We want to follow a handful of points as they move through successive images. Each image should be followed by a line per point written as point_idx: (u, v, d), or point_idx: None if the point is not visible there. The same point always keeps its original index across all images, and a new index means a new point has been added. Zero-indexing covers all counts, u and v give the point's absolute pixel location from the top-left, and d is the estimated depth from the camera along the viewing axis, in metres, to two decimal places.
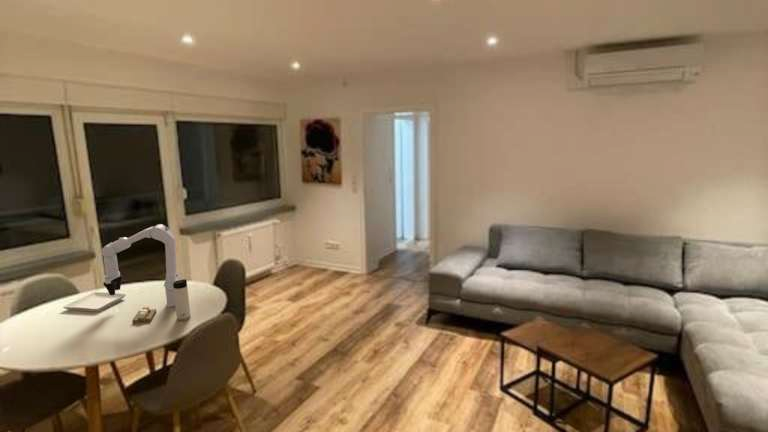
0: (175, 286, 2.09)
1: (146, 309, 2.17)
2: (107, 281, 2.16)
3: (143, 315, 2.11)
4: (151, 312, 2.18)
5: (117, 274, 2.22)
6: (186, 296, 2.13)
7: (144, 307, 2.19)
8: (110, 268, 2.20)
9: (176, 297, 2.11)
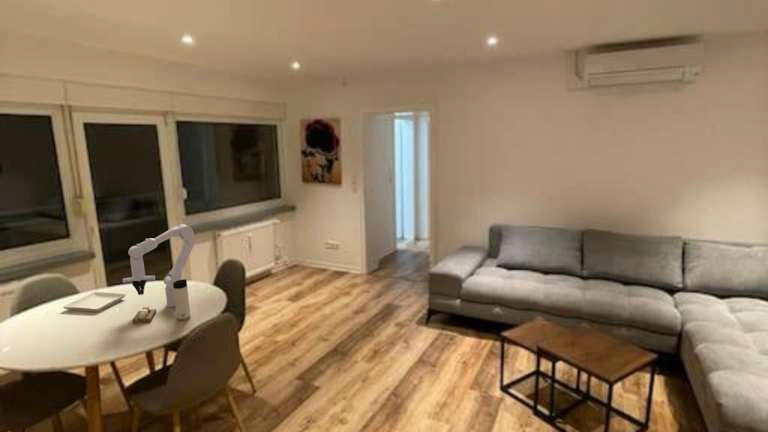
0: (175, 286, 2.09)
1: (146, 309, 2.17)
2: None
3: (143, 315, 2.11)
4: (151, 312, 2.18)
5: (135, 278, 2.18)
6: (186, 296, 2.13)
7: (144, 307, 2.19)
8: (139, 269, 2.18)
9: (176, 297, 2.11)
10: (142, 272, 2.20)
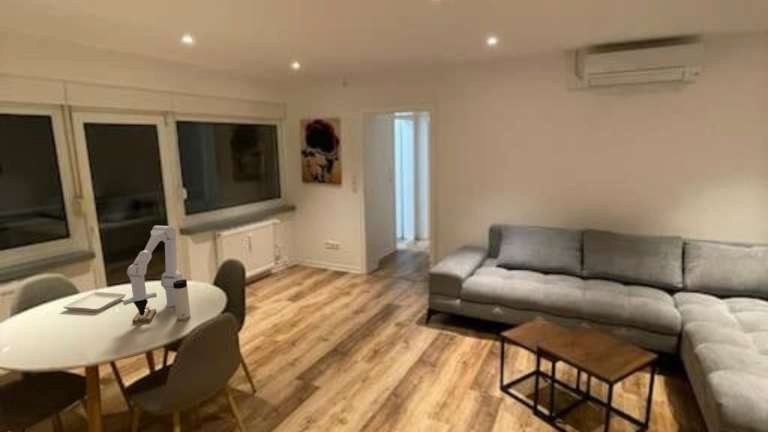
0: (175, 286, 2.09)
1: (146, 309, 2.17)
2: (123, 302, 2.05)
3: (143, 316, 2.11)
4: (151, 312, 2.18)
5: (139, 297, 2.08)
6: (186, 296, 2.13)
7: None
8: (144, 288, 2.09)
9: (176, 297, 2.11)
10: (145, 290, 2.10)
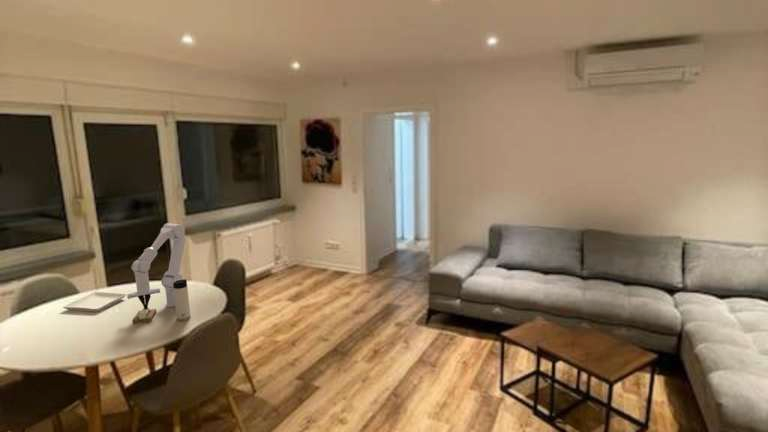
0: (175, 286, 2.09)
1: (146, 309, 2.17)
2: (127, 296, 2.13)
3: (143, 317, 2.11)
4: (151, 312, 2.18)
5: (141, 292, 2.15)
6: (186, 296, 2.13)
7: None
8: (146, 283, 2.15)
9: (176, 297, 2.11)
10: (148, 286, 2.17)
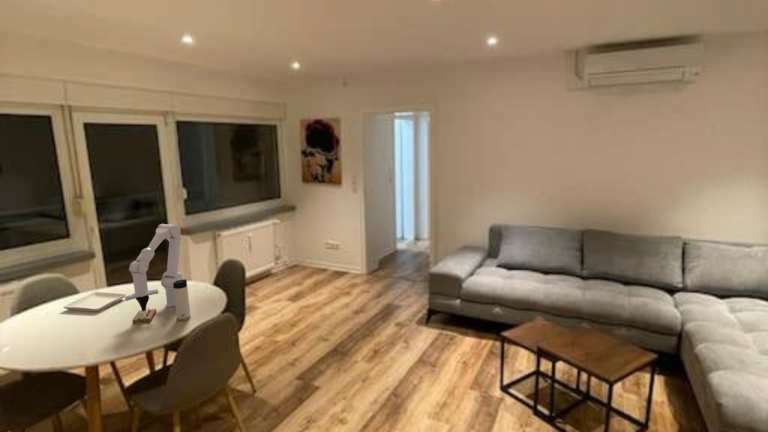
0: (175, 286, 2.09)
1: (146, 309, 2.17)
2: (125, 298, 2.09)
3: (143, 317, 2.11)
4: (151, 312, 2.18)
5: (140, 293, 2.11)
6: (186, 296, 2.13)
7: None
8: (145, 284, 2.12)
9: (176, 297, 2.11)
10: (146, 287, 2.13)
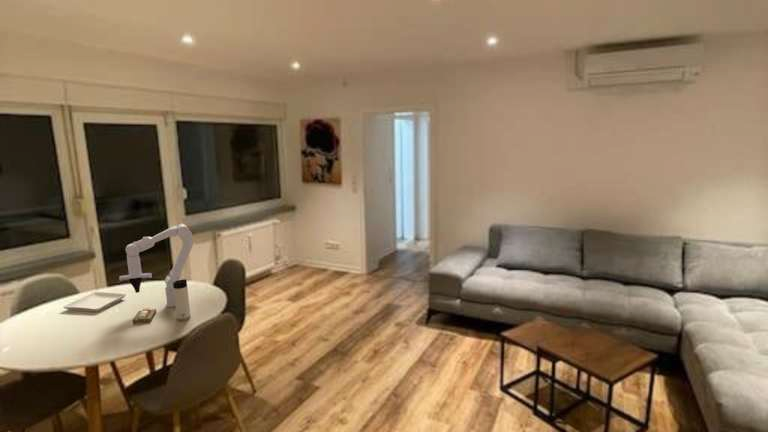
0: (175, 286, 2.09)
1: (146, 311, 2.17)
2: None
3: (143, 317, 2.11)
4: (151, 312, 2.18)
5: (131, 275, 2.19)
6: (186, 296, 2.13)
7: (144, 309, 2.19)
8: (135, 267, 2.19)
9: (176, 297, 2.11)
10: (139, 270, 2.21)
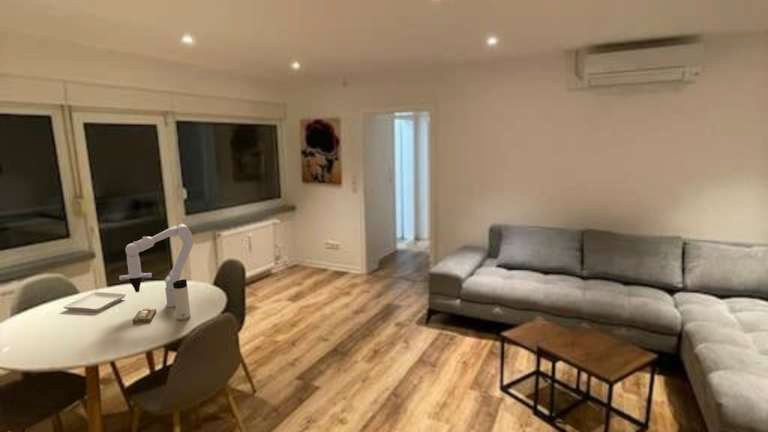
0: (175, 286, 2.09)
1: (146, 311, 2.17)
2: None
3: (143, 317, 2.11)
4: (151, 312, 2.18)
5: (131, 275, 2.20)
6: (186, 296, 2.13)
7: (144, 309, 2.19)
8: (135, 267, 2.19)
9: (176, 297, 2.11)
10: (138, 269, 2.21)
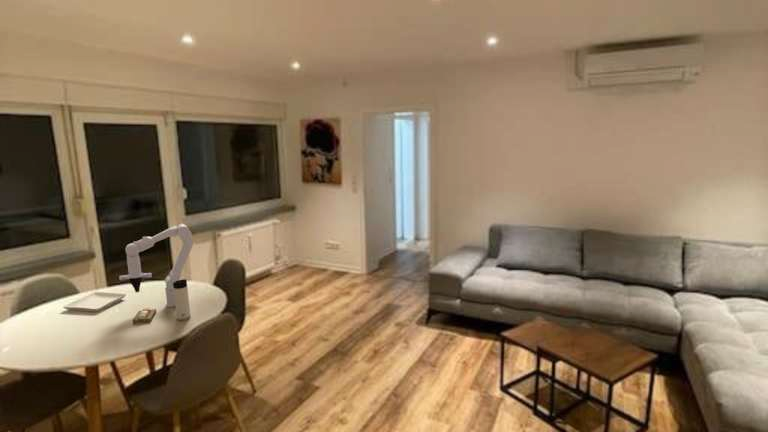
0: (175, 286, 2.09)
1: (146, 311, 2.17)
2: None
3: (143, 317, 2.11)
4: (151, 312, 2.18)
5: (131, 275, 2.20)
6: (186, 296, 2.13)
7: (144, 309, 2.19)
8: (135, 267, 2.19)
9: (176, 297, 2.11)
10: (138, 269, 2.21)
